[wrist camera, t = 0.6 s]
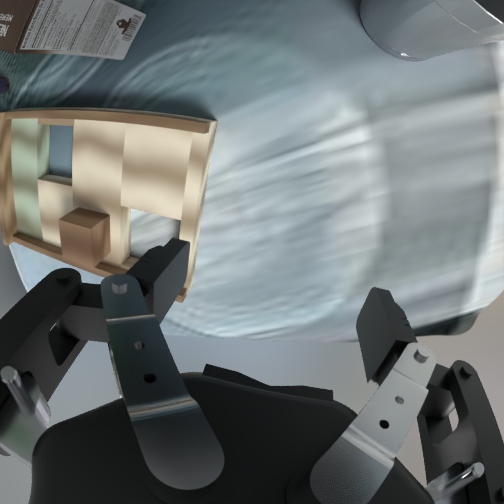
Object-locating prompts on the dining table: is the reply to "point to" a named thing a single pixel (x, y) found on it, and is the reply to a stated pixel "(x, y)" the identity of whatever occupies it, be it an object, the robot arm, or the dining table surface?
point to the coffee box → (68, 27)
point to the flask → (4, 85)
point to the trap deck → (103, 177)
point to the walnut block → (85, 236)
